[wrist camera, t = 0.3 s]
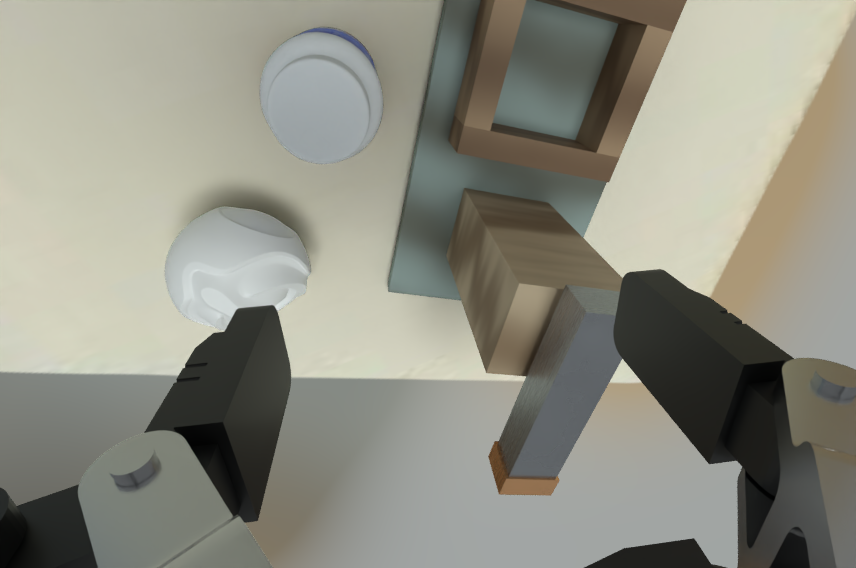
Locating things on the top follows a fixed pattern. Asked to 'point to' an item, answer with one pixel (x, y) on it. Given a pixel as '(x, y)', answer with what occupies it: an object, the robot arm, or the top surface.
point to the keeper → (558, 392)
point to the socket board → (522, 158)
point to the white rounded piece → (234, 265)
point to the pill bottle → (322, 95)
